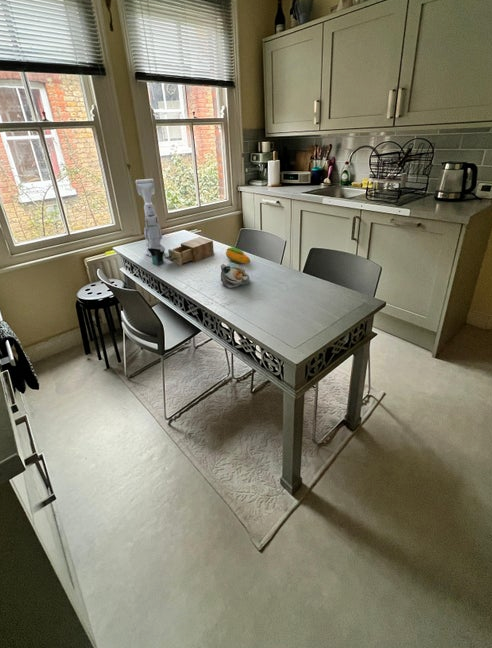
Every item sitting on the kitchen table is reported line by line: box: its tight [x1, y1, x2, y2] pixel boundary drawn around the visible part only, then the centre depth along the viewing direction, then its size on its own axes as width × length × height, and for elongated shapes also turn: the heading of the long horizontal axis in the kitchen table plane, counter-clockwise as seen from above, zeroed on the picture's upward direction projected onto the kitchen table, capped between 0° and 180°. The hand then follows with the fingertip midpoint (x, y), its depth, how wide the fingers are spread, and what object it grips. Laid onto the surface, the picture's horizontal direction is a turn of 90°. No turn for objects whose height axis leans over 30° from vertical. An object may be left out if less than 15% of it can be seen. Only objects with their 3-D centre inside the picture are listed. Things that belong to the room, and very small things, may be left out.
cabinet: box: [180, 236, 215, 263], centre depth 184 cm, size 15×12×9 cm
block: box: [151, 255, 165, 266], centre depth 177 cm, size 4×4×4 cm
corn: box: [225, 246, 251, 265], centre depth 173 cm, size 7×8×20 cm
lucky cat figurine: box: [220, 263, 250, 289], centre depth 146 cm, size 15×12×14 cm
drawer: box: [164, 245, 194, 266], centre depth 176 cm, size 18×10×7 cm, turn 136°
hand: (157, 260), depth 178 cm, fingers closed on block, 4 cm apart
